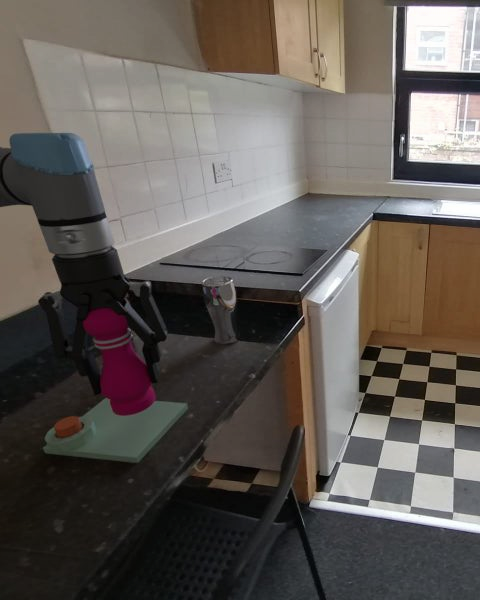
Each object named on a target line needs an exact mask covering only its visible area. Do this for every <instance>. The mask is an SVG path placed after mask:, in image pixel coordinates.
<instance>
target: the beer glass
mask: <svg viewBox="0 0 480 600" xmlns="http://www.w3.org/2000/svg"><path fill="white" fill-rule="evenodd" d="M233 279H234V278H233V277H231V276H229V275H215V276H211V277H207V278H205V279H203V280H202V281H201V284H200V285H201V290H202V297H203V302H204V305H205V309H206V311H207V315H208V316H209V318H210V321H211V323H212V326H213V330H214V336H213V337H214V338H213V339H214V342H215V343H216V344H218V345H231V344H234V343H236V342H239V341H240V339H241V338H242V335H243V334H242V332H241V330H240V328H239V323H238V295H237V291H236V288H235V287H236V286H235V284H234V280H233Z"/></svg>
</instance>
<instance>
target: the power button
mask: <svg viewBox="0 0 480 600" xmlns="http://www.w3.org/2000/svg"><path fill="white" fill-rule="evenodd" d="M79 417H80V416H76V415H71V416H67V417H64V418H62V419H60V420H59V421H57V422H56V423H54V425H53V427H54V429H55V431H56V434H57V436H58V437H59V438H65V437H70V436H72V435H74V434H76V433H78V432H79V431H80V430H82V424H81V422H80V419H79Z"/></svg>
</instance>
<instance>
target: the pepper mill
mask: <svg viewBox="0 0 480 600" xmlns="http://www.w3.org/2000/svg"><path fill="white" fill-rule="evenodd" d="M83 326H84V329H85V331H86V332H87V333H88V335H90V336H92V342H93V343H94V344H93V346H94V348H95V349H99V352H100V353H101V359H102V369H101V372H100V374H101V378H100V387H101V391H102V392H101V394H102V396H103V397H105V398H108V399H110V405H111V408H112V411H113V413H115V414H116V415H120V416H127V415H133V414H136V413H139V412H141V411H144V410H145V409H147V408H149V407H150V406H151V405H152V404H153V403H154V401H156V399H157V397H156V394H155V390H154V388H153V387H152V385H153V384H152V382H151V378H150V375H149V372H148V368H147V365H146V362H144V360H143V359H141V358H140V357H139V356H138V354H137V353H136V351H135V349H134V347H133V344H132V339H133V334H132V329H131V328H130V327H129V325H128V324H127V320H126V318H125V316H124V315H117V314H116V313H115V312H114V311H113V310H112V309H110V308H103V309H97V310H94V311H90V312H88V315H87V319H86V320H84V321H83Z"/></svg>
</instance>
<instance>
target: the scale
mask: <svg viewBox="0 0 480 600" xmlns="http://www.w3.org/2000/svg"><path fill="white" fill-rule="evenodd" d="M188 410H189V406H188V403H184V402H174V401H161V400H155V401H154V403H153V404H152V405H151V406H150V407H149V408H147V409H145V410H144V411H141V412H139V413H136V414H133V415H127V416H120V415H116V414H115V413H113V411H112V408H111V405H110V399H108V398H106V397H105V398H104V399H102V400H101V401H100V402H99V403H97V404H96V405H95V406H93V407H92V408H91V409H90V410H89V411H87V412H86V413H84V414H83V415H82V416H78V417H79V419H80V422H81V424H82V430H80V431H79V432H78V433H76V434H74V435H72V436H70V437H65V438H59V437H58V436H57V434H56V431H55V429H54V426H53V427H52V428H51V429H49V430H48V431H47V433H46V435H45V436H44V441H45V443H46V445H44V446H43V447H42V449H43V452H44V453H45V454H48V455H58V456H65V457H66V456H69V457H78V458H85V459H86V458H87V459H95V460H106V461H115V462H124V463H132V464H133V463H134V464H139V462H141V460H142V459H143V458H144V457H146V455H147V454H148V453H149V452H150V451H151V450H152V448H153V447H154V446H155V445H156V444H157V443H158V442H159V441H160V440H161V438H163V436H165V434H166V433H167V432H168V431H169V430H170V429H171V428H172V427H174V425H175V423H176V422H178V420H179V419H180V418H181V417H182V416H183V415H184V414H185V413H186V412H187V411H188Z"/></svg>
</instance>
